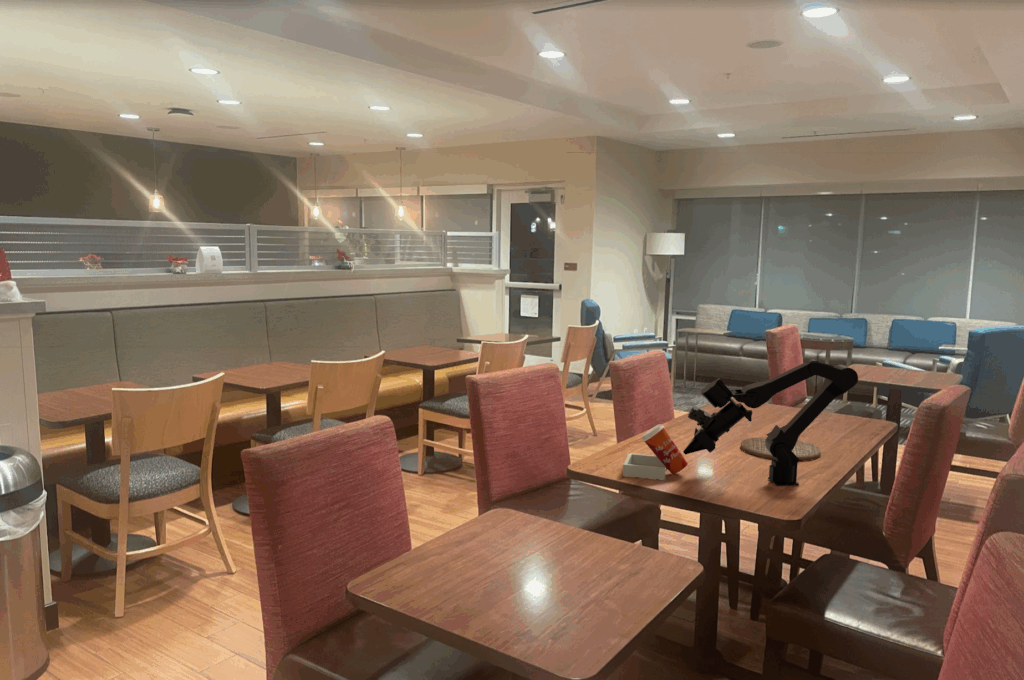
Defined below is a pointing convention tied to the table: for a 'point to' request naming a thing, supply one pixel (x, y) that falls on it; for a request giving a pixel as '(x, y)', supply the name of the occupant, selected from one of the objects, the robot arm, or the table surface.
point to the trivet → (759, 449)
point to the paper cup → (664, 449)
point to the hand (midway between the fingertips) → (684, 452)
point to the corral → (643, 466)
